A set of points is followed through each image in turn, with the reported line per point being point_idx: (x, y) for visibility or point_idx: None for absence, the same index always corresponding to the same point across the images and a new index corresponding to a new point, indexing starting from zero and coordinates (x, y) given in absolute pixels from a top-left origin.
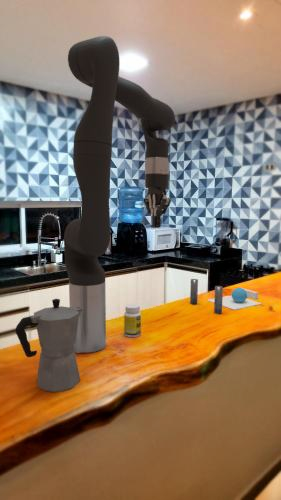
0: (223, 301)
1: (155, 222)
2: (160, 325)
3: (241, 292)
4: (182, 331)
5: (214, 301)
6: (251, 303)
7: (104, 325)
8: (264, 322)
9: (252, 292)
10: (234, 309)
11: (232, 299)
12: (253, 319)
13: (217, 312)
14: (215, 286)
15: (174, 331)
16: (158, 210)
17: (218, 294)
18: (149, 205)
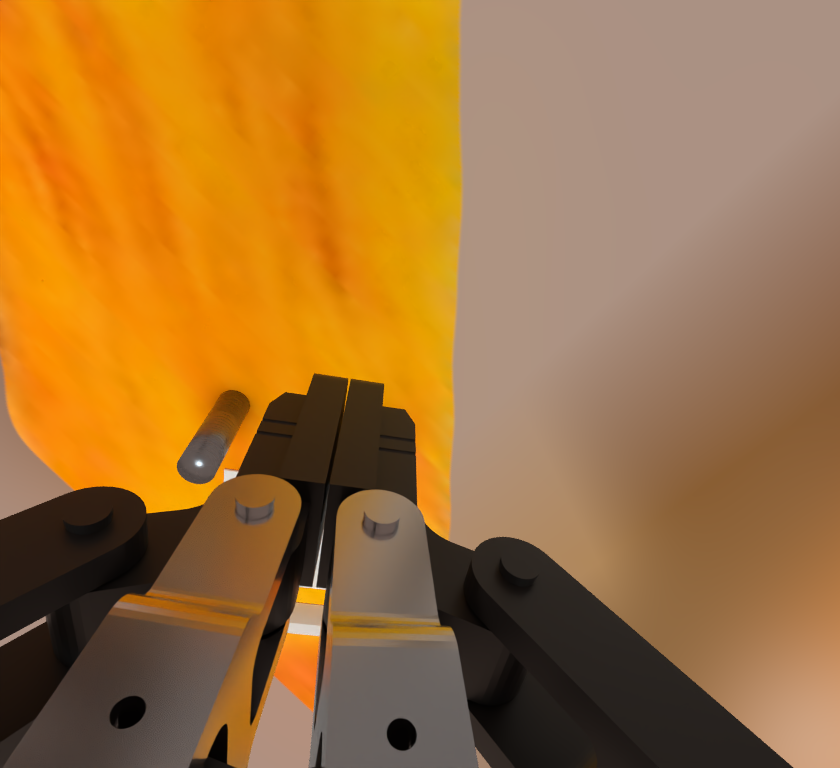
0: None
1: (299, 421)
2: (244, 92)
3: None
4: (126, 113)
5: (229, 419)
6: None
7: None
8: (62, 436)
9: None
10: (224, 471)
11: (319, 552)
12: (107, 435)
13: (222, 395)
14: (211, 464)
15: (143, 82)
16: (37, 560)
17: (194, 437)
18: (458, 705)
